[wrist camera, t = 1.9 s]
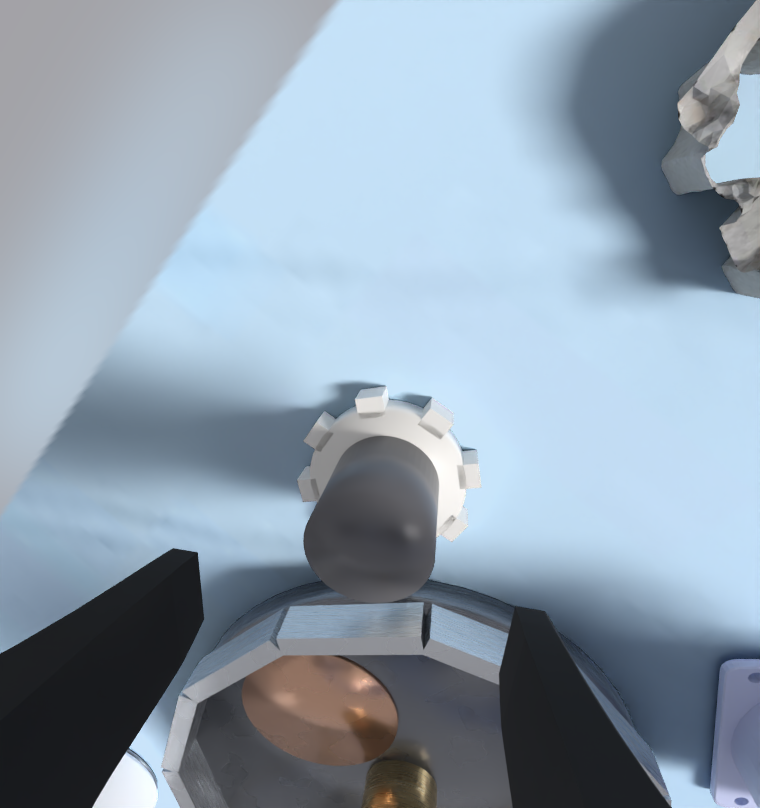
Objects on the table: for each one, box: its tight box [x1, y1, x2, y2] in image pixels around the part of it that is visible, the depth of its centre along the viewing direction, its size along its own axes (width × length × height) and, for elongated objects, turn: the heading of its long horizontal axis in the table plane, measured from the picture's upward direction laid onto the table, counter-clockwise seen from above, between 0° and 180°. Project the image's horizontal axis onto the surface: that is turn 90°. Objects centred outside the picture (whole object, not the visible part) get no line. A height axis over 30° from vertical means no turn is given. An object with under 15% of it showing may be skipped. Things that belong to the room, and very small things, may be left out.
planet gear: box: [297, 386, 481, 603], centre depth 14 cm, size 6×6×4 cm
